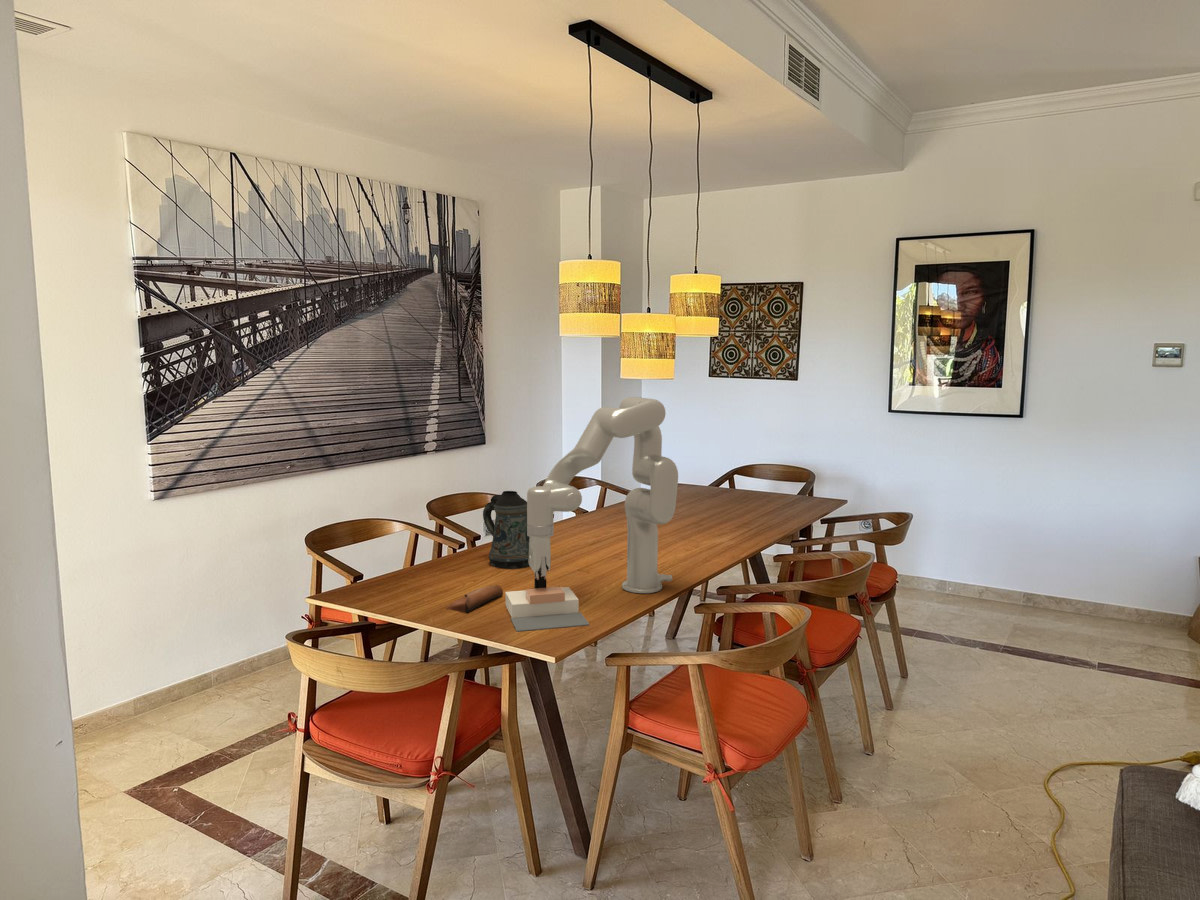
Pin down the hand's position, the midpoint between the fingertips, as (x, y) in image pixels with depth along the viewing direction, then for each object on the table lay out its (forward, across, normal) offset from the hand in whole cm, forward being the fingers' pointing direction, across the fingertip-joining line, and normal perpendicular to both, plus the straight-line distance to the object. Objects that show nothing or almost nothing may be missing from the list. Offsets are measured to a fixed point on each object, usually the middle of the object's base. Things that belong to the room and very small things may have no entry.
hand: (540, 591), depth 234 cm
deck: (+5, +1, 0) cm, 5 cm away
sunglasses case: (+6, -10, -18) cm, 21 cm away
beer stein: (+5, -50, -2) cm, 50 cm away
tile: (0, +5, 0) cm, 5 cm away
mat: (+5, +12, 0) cm, 13 cm away
